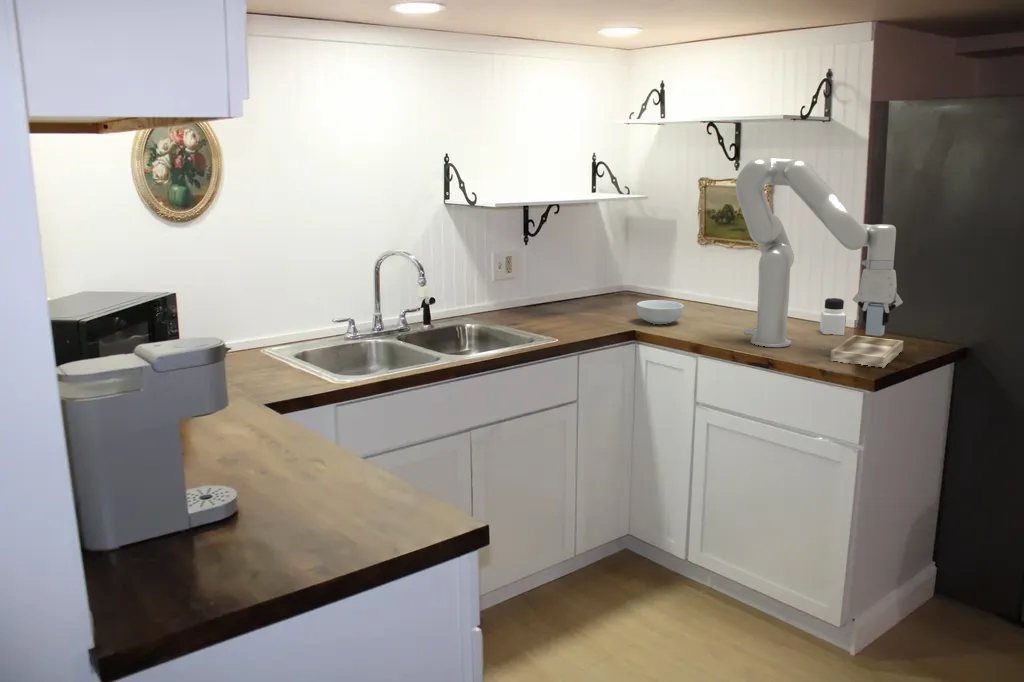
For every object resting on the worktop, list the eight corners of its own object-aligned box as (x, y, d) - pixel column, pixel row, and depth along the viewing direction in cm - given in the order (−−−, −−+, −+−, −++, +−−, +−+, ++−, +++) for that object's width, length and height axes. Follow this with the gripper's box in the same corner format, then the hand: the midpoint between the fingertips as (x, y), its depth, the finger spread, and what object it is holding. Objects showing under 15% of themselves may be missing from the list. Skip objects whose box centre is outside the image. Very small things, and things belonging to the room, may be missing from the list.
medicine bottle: (844, 335, 285) (847, 300, 282) (822, 334, 286) (825, 300, 284) (841, 331, 292) (843, 297, 289) (819, 330, 293) (822, 296, 291)
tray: (830, 361, 251) (831, 350, 250) (852, 344, 271) (853, 335, 271) (883, 368, 242) (884, 357, 241) (902, 350, 263) (903, 340, 262)
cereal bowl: (632, 326, 303) (633, 306, 301) (639, 317, 318) (640, 299, 317) (680, 328, 298) (681, 309, 296) (685, 319, 313) (685, 301, 312)
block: (865, 334, 260) (867, 306, 258) (868, 332, 263) (871, 303, 261) (880, 336, 257) (883, 307, 255) (884, 333, 261) (886, 305, 259)
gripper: (847, 265, 257) (844, 323, 261) (907, 268, 248) (902, 328, 252) (854, 262, 263) (850, 319, 267) (912, 265, 254) (907, 324, 258)
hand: (875, 323), depth 259 cm, fingers closed on block, 4 cm apart
